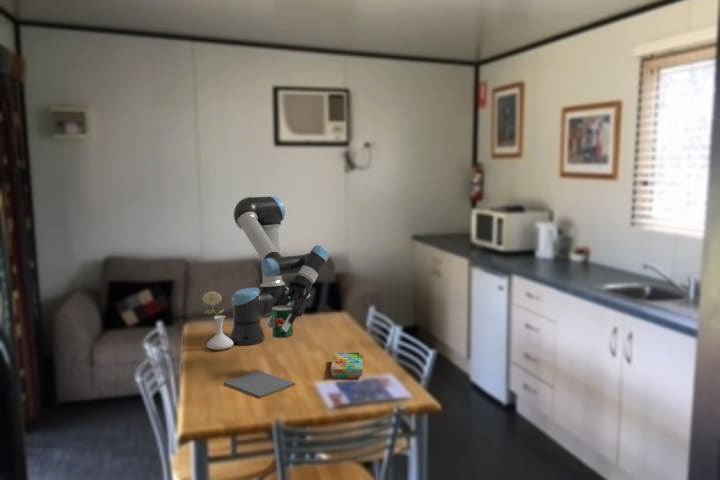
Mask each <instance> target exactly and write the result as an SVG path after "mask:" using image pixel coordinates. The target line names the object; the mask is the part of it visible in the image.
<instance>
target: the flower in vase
mask: <svg viewBox="0 0 720 480" xmlns="http://www.w3.org/2000/svg"><path fill="white" fill-rule="evenodd" d="M222 299H223V298H222V296H221V294H220V292H216V291H213V290H211V291H207V292H206V293H205V294H203V296H202V298H201V300H202V302H203V303H204V304H205V305H209V306H211V308H212V309H209V308H208V309H206V310H204V312H203V314H207V315H212V314H213V313H214V314H215V316H213V319H214V321H215V323H216V334H214V336H213V337H212V338H210V339H209V340H208V342H207V343H206V347H207V348H208V349H211V350H216V351H218V350H219V351H221V350H226V349H229V348H231V347H233V346H234V345H235V344H234V343H233V341H232V340H231V339H230V337H228V336H227V335H225V333H224V332H223V322H224V319H225V318H226V316H225V315H220V314H223V313H224V311H225V308H223V309H220V310H219V311H218V312H217V313H216V312H215V311H216V310H214V306H216V305H218V304H221V300H222Z"/></svg>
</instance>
